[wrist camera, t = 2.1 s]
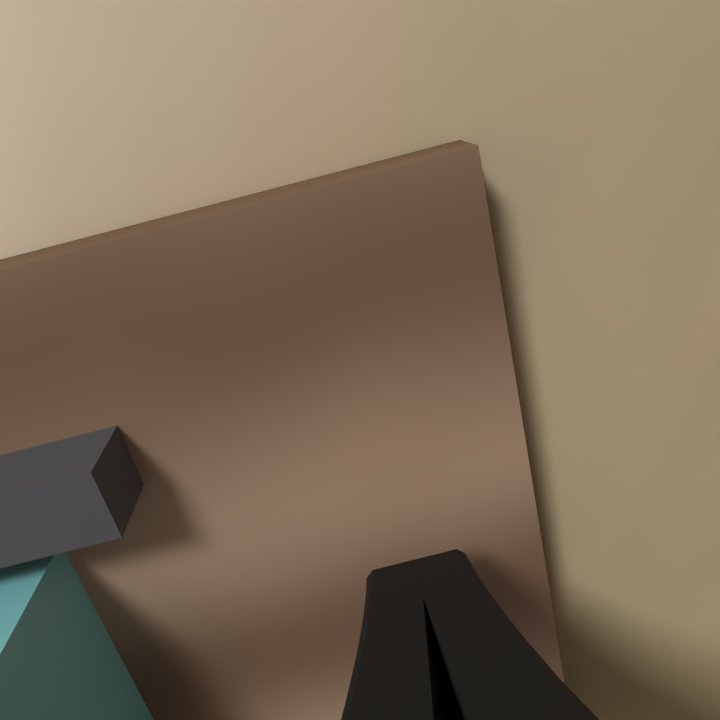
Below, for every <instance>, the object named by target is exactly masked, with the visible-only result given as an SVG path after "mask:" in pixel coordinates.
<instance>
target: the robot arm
mask: <svg viewBox="0 0 720 720" xmlns="http://www.w3.org/2000/svg"><path fill="white" fill-rule="evenodd" d="M341 720H599V719H598V718H597V717H596V716H595V715H594V714H593V713H592V712H591V711H590V710H589V709H588V708H587V707H586V706H585V705H584V704H583V703H582V702H581V701H580V700H579V699H578V698H577V697H576V696H575V694H574V693H573V692H572V691H571V690H570V689H569V688H568V687H567V686H566V685H565V684H564V683H563V681H562V680H561V679H560V678H559V677H558V676H557V675H556V674H555V673H554V672H553V670H552V669H551V668H550V667H549V666H548V665H547V663H546V662H545V661H544V660H543V659H542V658H541V656H540V655H539V654H538V653H537V652H536V651H535V649H534V648H533V647H532V646H531V645H530V644H529V642H528V641H527V640H526V639H525V638H524V637H523V635H522V634H521V633H520V632H519V631H518V629H517V628H516V627H515V626H514V624H513V623H512V622H511V621H510V619H509V618H508V617H507V615H506V614H505V613H504V611H503V610H502V609H501V607H500V606H499V605H498V603H497V602H496V601H495V599H494V598H493V597H492V595H491V594H490V592H489V591H488V590H487V588H486V587H485V585H484V584H483V582H482V581H481V579H480V578H479V576H478V575H477V573H476V571H475V570H474V568H473V566H472V565H471V563H470V561H469V559H468V557H467V555H466V554H465V553H463V552H461V551H460V550H458V549H455V550H451V551H447V552H443V553H439V554H435V555H431V556H427V557H423V558H419V559H415V560H411V561H407V562H403V563H399V564H395V565H391V566H387V567H383V568H379V569H375V570H372V572H371V573H370V574H369V576H368V577H367V581H366V597H365V607H364V615H363V621H362V628H361V633H360V639H359V644H358V649H357V655H356V659H355V664H354V668H353V672H352V677H351V681H350V685H349V689H348V694H347V698H346V702H345V707H344V710H343V714H342V718H341Z"/></svg>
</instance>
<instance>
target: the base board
mask: <svg viewBox="0 0 720 720" xmlns="http://www.w3.org/2000/svg"><path fill="white" fill-rule="evenodd" d="M113 426H118V428H119V430H120V432H121V435H122V437H123V439H124V441H125V444H126V446H127V448H128V450H129V453H130V455H131V457H132V459H133V462H134V464H135V466H136V468H137V471H138V473H139V475H140V477H141V480H142V482H143V484H144V486H143V488H142V491H141V493H140V495H139V498H138V500H137V503H136V505H135V508H134V510H133V513H132V515H131V517H130V520H129V522H128V525H127V527H126V530H125V532H124V534H123V537H122V538H119V539H115V540H111V541H107V542H104V543H100V544H96V545H92V546H88V547H84V548H80V549H76V550H72V551H68V552H66V554H67V556H68V558H69V560H70V562H71V564H72V566H73V568H74V570H75V571H76V573H77V575H78V577H79V579H80V581H81V583H82V585H83V587H84V588H85V590H86V592H87V594H88V596H89V598H90V600H91V602H92V604H93V606H94V607H95V609H96V611H97V613H98V615H99V617H100V619H101V621H102V623H103V624H104V626H105V628H106V630H107V632H108V634H109V636H110V638H111V640H112V642H113V643H114V645H115V647H116V649H117V651H118V653H119V655H120V657H121V659H122V660H123V662H124V664H125V666H126V668H127V670H128V672H129V674H130V676H131V678H132V679H133V681H134V683H135V685H136V687H137V689H138V691H139V693H140V695H141V696H142V698H143V700H144V702H145V704H146V706H147V708H148V710H149V712H150V714H151V715H152V717H153V719H154V720H341V718H342V714H343V710H344V707H345V702H346V698H347V694H348V689H349V685H350V681H351V677H352V672H353V668H354V664H355V659H356V655H357V649H358V644H359V639H360V633H361V628H362V621H363V615H364V607H365V597H366V581H367V577H368V576H369V574H370V573H371V572H372V570H375V569H379V568H383V567H387V566H391V565H395V564H399V563H403V562H407V561H411V560H415V559H419V558H423V557H427V556H431V555H435V554H439V553H443V552H447V551H451V550H455V549H458V550H460V551H461V552H463V553H465V554H466V555H467V557H468V559H469V561H470V563H471V565H472V566H473V568H474V570H475V571H476V573H477V575H478V576H479V578H480V579H481V581H482V582H483V584H484V585H485V587H486V588H487V590H488V591H489V592H490V594H491V595H492V597H493V598H494V599H495V601H496V602H497V603H498V605H499V606H500V607H501V609H502V610H503V611H504V613H505V614H506V615H507V617H508V618H509V619H510V621H511V622H512V623H513V624H514V626H515V627H516V628H517V629H518V631H519V632H520V633H521V634H522V635H523V637H524V638H525V639H526V640H527V641H528V642H529V644H530V645H531V646H532V647H533V648H534V649H535V651H536V652H537V653H538V654H539V655H540V656H541V658H542V659H543V660H544V661H545V662H546V663H547V665H548V666H549V667H550V668H551V669H552V670H553V672H554V673H555V674H556V675H557V676H558V677H559V678H560V679H561V680H562V681H563V683H564V684H565V681H564V675H563V669H562V662H561V656H560V650H559V644H558V638H557V631H556V625H555V619H554V613H553V607H552V600H551V594H550V588H549V582H548V576H547V569H546V563H545V557H544V551H543V545H542V538H541V532H540V526H539V520H538V514H537V507H536V501H535V495H534V489H533V483H532V476H531V470H530V464H529V458H528V452H527V445H526V439H525V433H524V427H523V421H522V414H521V408H520V402H519V396H518V390H517V383H516V377H515V371H514V365H513V359H512V352H511V346H510V340H509V334H508V328H507V321H506V315H505V309H504V303H503V296H502V290H501V284H500V278H499V272H498V265H497V259H496V253H495V247H494V241H493V234H492V228H491V222H490V216H489V210H488V203H487V197H486V191H485V185H484V179H483V172H482V166H481V160H480V154H479V148H478V145H475V144H471V143H468V142H465V141H461V140H459V141H455V142H451V143H447V144H443V145H439V146H436V147H432V148H428V149H424V150H420V151H416V152H413V153H409V154H405V155H401V156H397V157H393V158H390V159H386V160H382V161H378V162H374V163H370V164H366V165H363V166H359V167H355V168H351V169H347V170H343V171H340V172H336V173H332V174H328V175H324V176H320V177H317V178H313V179H309V180H305V181H301V182H297V183H294V184H290V185H286V186H282V187H278V188H274V189H271V190H267V191H263V192H259V193H255V194H251V195H248V196H244V197H240V198H236V199H232V200H228V201H225V202H221V203H217V204H213V205H209V206H205V207H202V208H198V209H194V210H190V211H186V212H182V213H179V214H175V215H171V216H167V217H163V218H159V219H156V220H152V221H148V222H144V223H140V224H136V225H133V226H129V227H125V228H121V229H117V230H113V231H110V232H106V233H102V234H98V235H94V236H90V237H87V238H83V239H79V240H75V241H71V242H67V243H63V244H60V245H56V246H52V247H48V248H44V249H40V250H37V251H33V252H29V253H25V254H21V255H17V256H14V257H10V258H6V259H2V260H0V455H3V454H7V453H11V452H15V451H19V450H23V449H27V448H30V447H34V446H38V445H42V444H46V443H50V442H54V441H58V440H62V439H66V438H70V437H74V436H77V435H81V434H85V433H89V432H93V431H97V430H101V429H105V428H109V427H113Z"/></svg>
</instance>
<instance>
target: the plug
mask: <svg viewBox="0 0 720 720" xmlns="http://www.w3.org/2000/svg"><path fill="white" fill-rule="evenodd" d="M0 720H154V719H153V717H152V715H151V714H150V712H149V710H148V708H147V706H146V704H145V702H144V700H143V698H142V696H141V695H140V693H139V691H138V689H137V687H136V685H135V683H134V681H133V679H132V678H131V676H130V674H129V672H128V670H127V668H126V666H125V664H124V662H123V660H122V659H121V657H120V655H119V653H118V651H117V649H116V647H115V645H114V643H113V642H112V640H111V638H110V636H109V634H108V632H107V630H106V628H105V626H104V624H103V623H102V621H101V619H100V617H99V615H98V613H97V611H96V609H95V607H94V606H93V604H92V602H91V600H90V598H89V596H88V594H87V592H86V590H85V588H84V587H83V585H82V583H81V581H80V579H79V577H78V575H77V573H76V571H75V570H74V568H73V566H72V564H71V562H70V560H69V558H68V556H67V554H66V552H64V553H60V554H56V555H52V556H48V557H44V558H40V559H36V560H32V561H28V562H24V563H20V564H16V565H12V566H8V567H4V568H0Z"/></svg>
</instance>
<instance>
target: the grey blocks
mask: <svg viewBox="0 0 720 720" xmlns="http://www.w3.org/2000/svg"><path fill="white" fill-rule="evenodd" d="M143 486H144V484H143V482H142V480H141V477H140V475H139V473H138V471H137V468H136V466H135V464H134V462H133V459H132V457H131V455H130V453H129V450H128V448H127V446H126V444H125V441H124V439H123V437H122V435H121V432H120V430H119V428H118V426H113V427H109V428H105V429H101V430H97V431H93V432H89V433H85V434H81V435H77V436H74V437H70V438H66V439H62V440H58V441H54V442H50V443H46V444H42V445H38V446H34V447H30V448H27V449H23V450H19V451H15V452H11V453H7V454H3V455H0V568H4V567H8V566H12V565H16V564H20V563H24V562H28V561H32V560H36V559H40V558H44V557H48V556H52V555H56V554H60V553H64V552H68V551H72V550H76V549H80V548H84V547H88V546H92V545H96V544H100V543H104V542H107V541H111V540H115V539H119V538H122V537H123V534H124V532H125V530H126V527H127V525H128V522H129V520H130V517H131V515H132V513H133V510H134V508H135V505H136V503H137V500H138V498H139V495H140V493H141V491H142V488H143Z"/></svg>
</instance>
